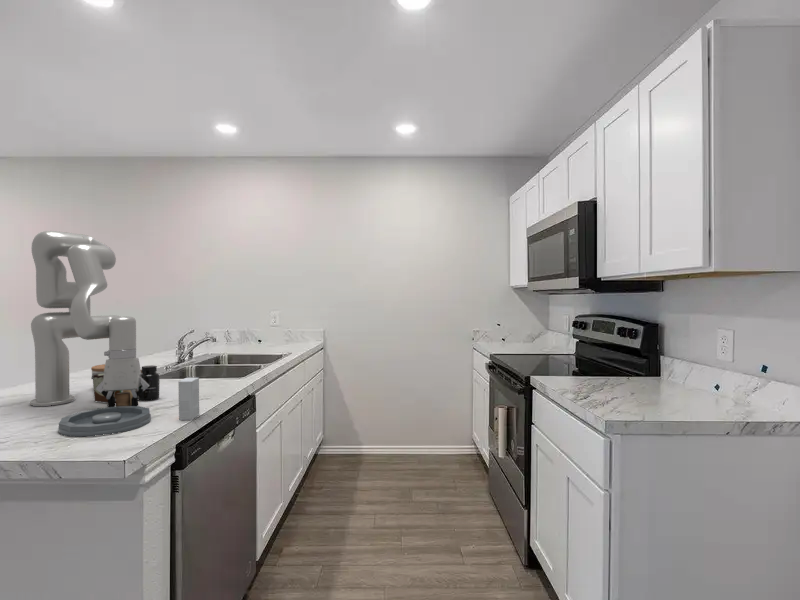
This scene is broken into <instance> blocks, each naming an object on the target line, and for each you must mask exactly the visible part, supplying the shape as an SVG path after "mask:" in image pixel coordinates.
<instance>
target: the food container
mask: <svg viewBox="0 0 800 600" xmlns="http://www.w3.org/2000/svg"><path fill="white" fill-rule="evenodd" d="M103 377H104V372H98V373H92V372H91V380H92V387H93V388H92V389H93V399H94V400H93V401H94V402H95V401H97V402H96V403H103V402H106V403H105V404H108V399H106V397H105V396H104V395H102V393H101V392H99V391H98V390H96V387H97V386H98V385H99V384H100V383H101V382H102V381H103ZM117 393H121V391H115V393H114V395H113V396H114V397H115V404H116V394H117Z"/></svg>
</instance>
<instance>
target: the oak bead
mask: <svg viewBox="0 0 800 600" xmlns="http://www.w3.org/2000/svg"><path fill="white" fill-rule="evenodd" d="M123 392H130V406H131V398H133V395H132V393H131V390H123Z"/></svg>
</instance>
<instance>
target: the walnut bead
mask: <svg viewBox="0 0 800 600" xmlns="http://www.w3.org/2000/svg"><path fill="white" fill-rule="evenodd" d="M115 406H130V392H121V393H117V394H116V403H115Z"/></svg>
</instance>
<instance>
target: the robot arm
mask: <svg viewBox="0 0 800 600" xmlns="http://www.w3.org/2000/svg"><path fill="white" fill-rule="evenodd" d="M31 255H32V259H33V262H34V263H33V264H34V265H35V292H36V293H35V294H36V295H35V296H36V303H37V304H38V306H40V308H42V309H43V308H44V309H68V311H59V312H58V311H54V312H51V311H49V312H44V313H40V314H38V315H36V316H34V317H33V319H31V321H30V322H31V323H30V328H31V333H32V338H33V343H34V359H35V360H34V362H35V363H34V369H35V371H34V374H35V378H34V379H35V380H34V381H35V382H34V383H35V384H34V385H35V391H34V392H35V393H34V394H35V398H33V399H31V400H30V401H29V405H30V406H31V405H33V407H50V406H51V405H52V406H57V405H58V406H59V405H64V404H67V403H71V402H74V401H75V400H76V396H75V395H71V394H70V350H69V348H68V346H67V345H66V344H65V342H64V339H74V338H81V339H82V340H86V341H87V340H88V341H90V340H101V339H108V350H106V351H104V352H103V355H104V356H107V357H108V359H106V360H105V363H104V364H105V368H104V377H103V381H102V382H101V383H100V384H99V385H98V386H97V387H96V390H98V391H99V392H101V393H102V395H104V396H105V397H106V399H108V403H107V407H115V406H116V403H115V397H114V396H113V395H114V393H115V391H121V390H131V393H132V395H133V398H131V406H139V399H138V396H139V395H140V394H141V393H142V392H143V391H144V390H145V389H147V388H148V387H149V384H148V383H147V382H146V381H145V380H144V379H143V378H141V370H142V368H141V364H140V360H139V357H137V320H136V319H135V317H133V316H121V315H117V314H116V315H113V314H112V315H111V314H110V315H92V316H91V297H92V296H95V295H97V294H100V293H101V292H103V291H105V290H106V289H107V288H108V281H107V279H106V276H105V273H104V270H105V271H109V270H111V269H113V268H114V267H115V265H116V262H117V261H116V260H117V257H116V254H115V252H114V250H113V249H112V248H111V247H109V246H108V245H107V244H105V243H103V242H102V241H100V240H99V239H96V238H95V237H93V236H90V235H87V234H81V233H72V232H67V231H66V232H65V231H57V230H45V231H41V232H38V233H37V234H36V235H35V236H34V238H33V239H32V241H31ZM59 257H66V258H67V260H68V263H69V266H70V269H71V272H72V276H73V278H74V281H68V280H67V279H68V278H67V268H66V266H65V264H64V262H62V260H61V259H60V258H59ZM141 385H142V386H143V387H142V388H141V389H140V390H138V389H137V388H138V387H139V386H141ZM52 406H51V407H52Z"/></svg>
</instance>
